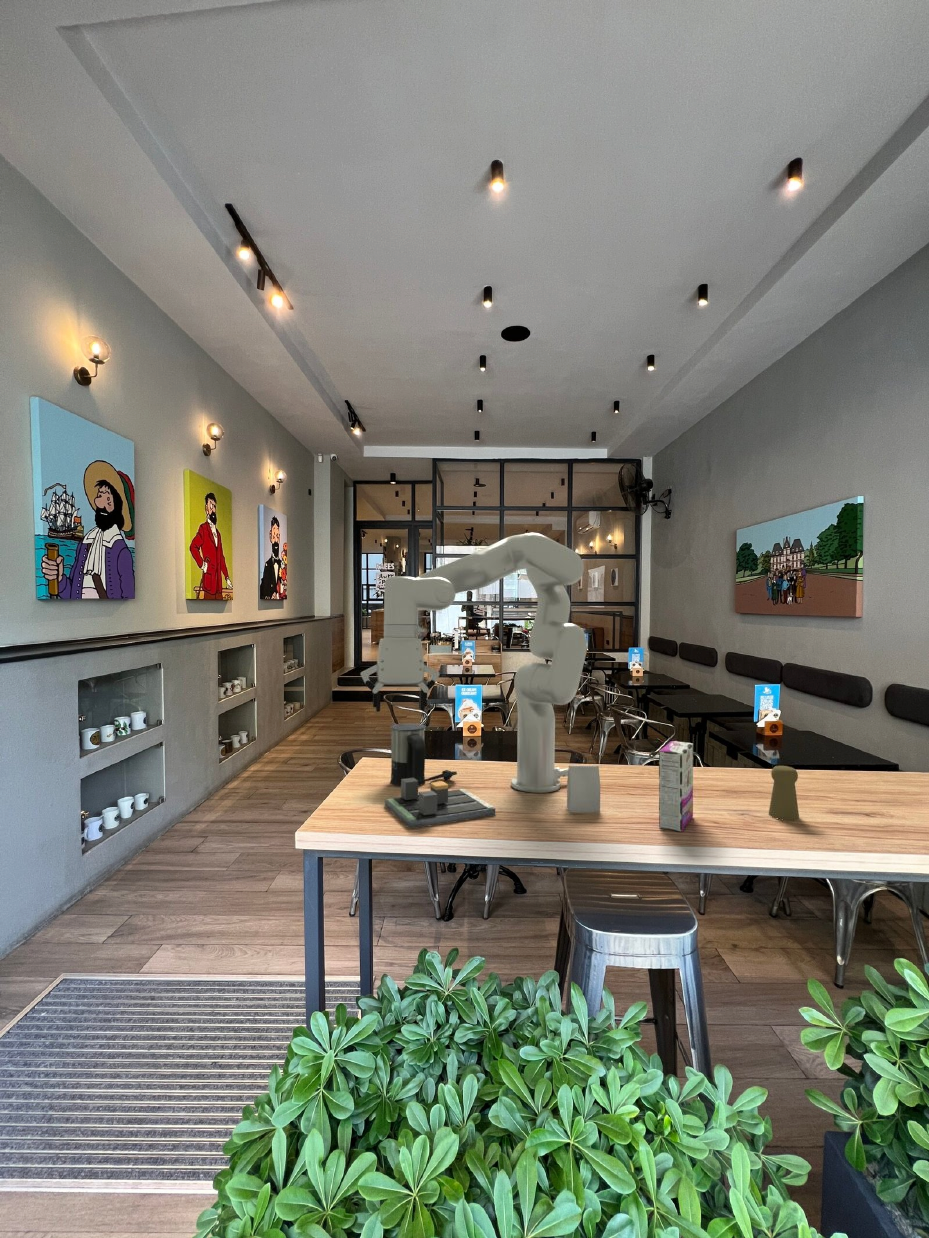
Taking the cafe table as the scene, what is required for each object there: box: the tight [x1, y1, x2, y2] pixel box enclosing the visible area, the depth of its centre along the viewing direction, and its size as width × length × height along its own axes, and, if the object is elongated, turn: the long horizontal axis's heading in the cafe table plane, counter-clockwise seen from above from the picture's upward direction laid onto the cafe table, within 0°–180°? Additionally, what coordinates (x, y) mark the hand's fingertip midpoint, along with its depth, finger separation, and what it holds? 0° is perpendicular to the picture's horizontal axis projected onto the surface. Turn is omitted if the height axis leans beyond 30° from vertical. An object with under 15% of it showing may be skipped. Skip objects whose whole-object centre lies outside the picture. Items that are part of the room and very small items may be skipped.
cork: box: [768, 765, 800, 822], centre depth 134 cm, size 6×6×11 cm
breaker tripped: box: [429, 780, 449, 804], centre depth 136 cm, size 3×3×4 cm
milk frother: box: [389, 723, 458, 788], centre depth 157 cm, size 14×16×15 cm
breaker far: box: [400, 778, 419, 800], centre depth 138 cm, size 3×3×4 cm
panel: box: [384, 788, 496, 829], centre depth 136 cm, size 20×16×2 cm
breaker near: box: [418, 790, 437, 815], centre depth 128 cm, size 3×3×4 cm
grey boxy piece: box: [566, 765, 601, 814], centre depth 137 cm, size 4×7×10 cm, turn 91°
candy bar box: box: [658, 740, 694, 833], centre depth 129 cm, size 11×5×16 cm, turn 148°
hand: (399, 710), depth 133 cm, fingers open, 9 cm apart
